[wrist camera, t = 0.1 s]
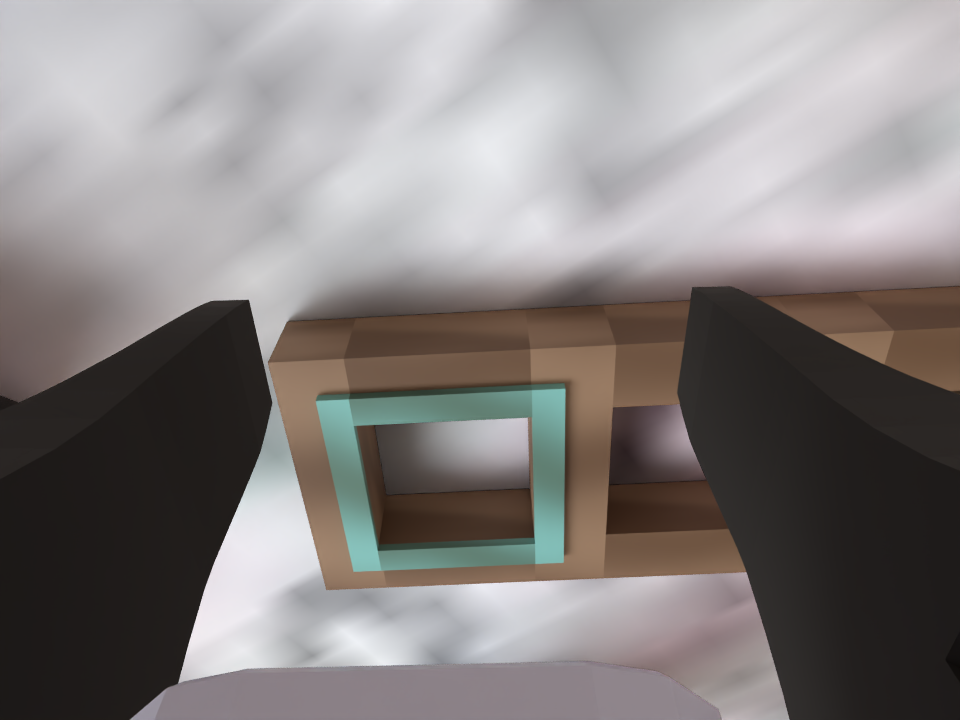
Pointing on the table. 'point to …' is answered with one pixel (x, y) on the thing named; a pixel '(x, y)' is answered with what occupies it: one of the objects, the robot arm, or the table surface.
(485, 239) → the table surface
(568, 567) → the rail
